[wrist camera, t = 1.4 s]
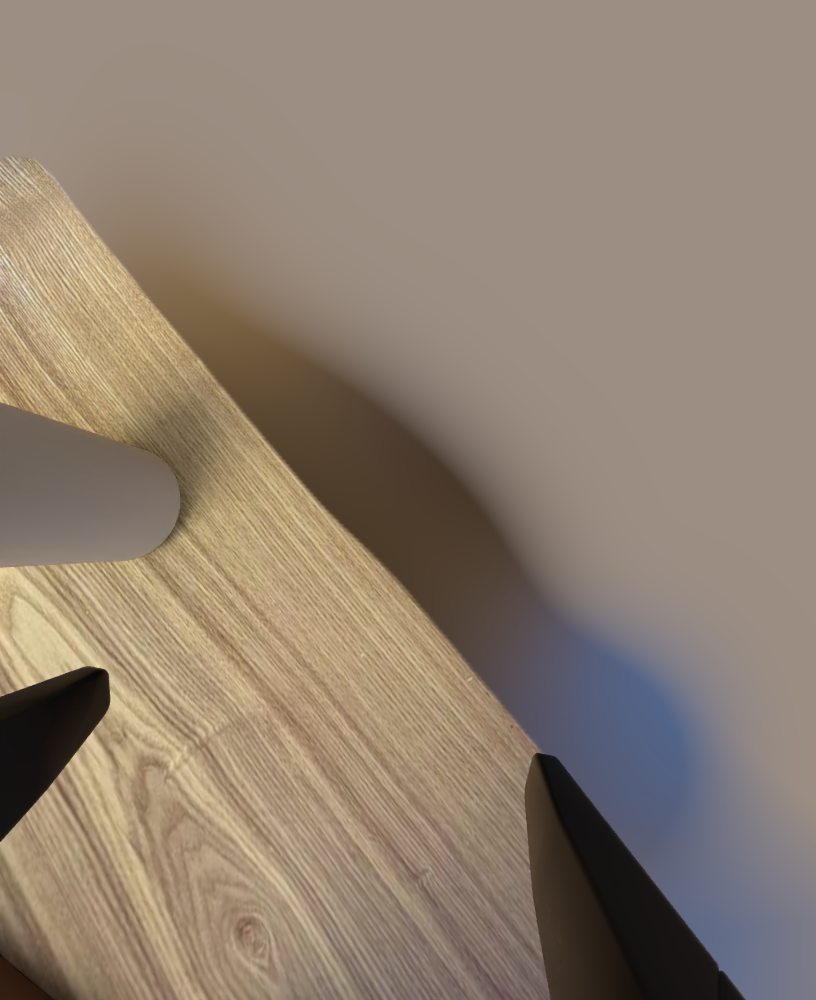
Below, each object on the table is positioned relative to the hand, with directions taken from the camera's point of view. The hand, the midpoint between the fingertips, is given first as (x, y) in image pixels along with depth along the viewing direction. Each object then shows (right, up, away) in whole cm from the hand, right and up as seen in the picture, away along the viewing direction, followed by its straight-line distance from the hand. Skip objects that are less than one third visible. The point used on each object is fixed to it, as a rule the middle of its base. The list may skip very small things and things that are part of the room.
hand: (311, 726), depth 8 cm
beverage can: (-14, +4, +16) cm, 21 cm away
